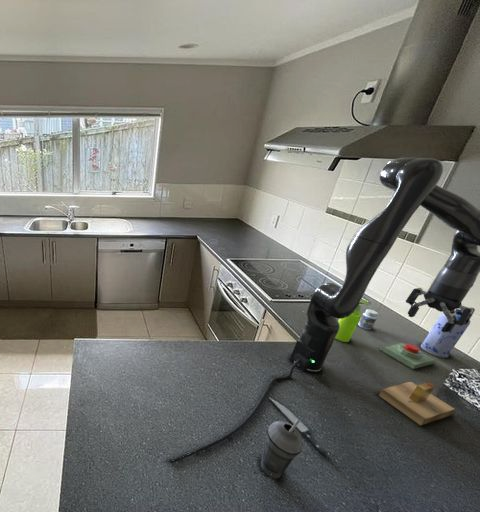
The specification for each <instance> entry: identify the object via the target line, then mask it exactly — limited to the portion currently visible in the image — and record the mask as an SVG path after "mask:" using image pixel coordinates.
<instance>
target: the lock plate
mask: <svg viewBox="0 0 480 512" xmlns="http://www.w3.org/2000/svg"><path fill="white" fill-rule="evenodd" d="M417 385H418V384H416V383H414V382H412V381H407V382H403V383H399V384H397V385H392V386H389V387H386V388H382V389H381V391H380V393H379V394H378V396H379V397H380V398H381V399H382V400H384V401H386V402H387V403H388V404H390V405H391V406H393V408H395V409H397V410H398V411H400V412H401V413H402V414H404V415H405V416H407V417H408V418H409V419H411V420H412V421H414V422H415V423H416V424H417V425H419V426H423V425H426V424H430V423H432V422H435V421H438V420H441V419H445V418H447V417H450V416H452V414H453V413H454V411H455V410H456V408H454V407H453V406H451V405H450V404H448V403H446V402H445V401H443V400H441V399H440V398H438V397H436V395H433V394H432V393H431V394H430V395H429V396H428V398H427V399H426V400H423V401H419V402H415V401H413V400H412V399H410V398H409V397H410V396H411V394H412V393H413V391H414V390H415V388H416V387H417Z"/></svg>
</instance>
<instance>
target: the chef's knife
mask: <svg viewBox="0 0 480 512" xmlns="http://www.w3.org/2000/svg"><path fill="white" fill-rule="evenodd" d="M269 400H270V401H271V402H272V403H273V404H274V405H275V406H276V407H277V408H278V410H279V411H280V412H281V413H282V414H283V415H284V416H285V417H286V418H287V419H288V420H289V421H290V422H291V424H292V425H294V423H295V422H296V421H297V419H298V417H297V416H296V415H295V414H294V413H293V412H291V411H290V410H289V409H288V408H287V407H285V405H282V404H281V403H280V402H278V401H277V400H275V399H273V398H271V397H269ZM295 428H296V429H297V430H298V431H299V433H300V434H301V435H303V436H304V437H305V438H306V439H307V440H308V441H309V442H310V443H311V445H313V447H314V448H316V450H317V451H318V452H319V453H320V454H321V455H322V456H323V457H327V452H326V451H325V450H324V449H323V448H322V447H320V446H319V444H318V443H316V441H315V440H314V439H313V438H312V437H311V436H310V435H309V434H308V431H309V428H308V427H307V426H306V425H305V424H304V423H302V421H301V420H300V422H299V423H298V424H297V426H296V427H295Z"/></svg>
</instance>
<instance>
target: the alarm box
mask: <svg viewBox="0 0 480 512" xmlns="http://www.w3.org/2000/svg"><path fill="white" fill-rule="evenodd" d="M406 344H407V343H406ZM406 344H405V343H404V342H402V343H401V342H400V343H396V344H392V345H387V346H384V347H383V349H382V352H383V353H385V354H386V355H388V356H390V357H392V358H394V359H395V360H397V361H398V362H400V363H402V364H404V365H405V366H407V367H409V368H410V369H412V370H416V369H419V368H423V367H427V366H430V365H433V363H434V362H435V359H434V358H432V357H430V356H428V355H427V354H424V353H423V352H422V351H421V350H420V349H419V351H418V353H412V352H409V351H407V350H406V349H405V346H406Z"/></svg>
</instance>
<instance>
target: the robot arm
mask: <svg viewBox="0 0 480 512" xmlns="http://www.w3.org/2000/svg"><path fill="white" fill-rule="evenodd" d="M443 173H444V165H443V163H442V161H440V160H439V159H436V158H430V157H429V158H428V157H414V156H413V157H410V156H405V157H398V158H395V159H394V158H393V159H392V160H390V161H387V163H385V164H384V165H383V166H382V168H381V170H380V173H379V181H380V183H381V184H382V185H383V186H384V187H385V188H387V189H389V190H392V191H394V194H393V196H392V197H391V198H390V200H389V202H388V203H387V205H386V206H385V207H384V208H383V209H382V210H380V211H379V212H378V213H377V214H375V215H374V216H372V217H371V218H369V219H368V220H367V221H365V222H364V223H363V224H362V225H360V226H359V227H358V229H357V230H356V231H355V233H354V234H353V235H352V238H351V239H350V241H349V243H348V244H347V246H346V251H345V267H346V268H345V269H346V270H345V271H346V272H345V277H344V281H343V283H342V284H341V286H340V285H338V284H336V283H333V282H325V283H321V284H320V285H319V286H317V288H315V289H314V291H313V293H312V295H311V298H310V300H309V304H308V307H307V310H306V320H305V323H304V326H303V328H302V330H301V332H300V335H299V337H298V340H296V342H295V344H294V347H293V350H292V352H291V355H290V357H289V360H290V361H291V362H292V365H291V367H290V370H289V372H288V374H286V375H284V376H275V377H273V378H271V379H270V381H269V382H268V384H267V385H266V388H265V390H264V392H263V393H262V395H261V397H260V398H259V400H258V401H257V403H256V405H255V406H254V408H253V409H252V410H251V412H250V413H249V414H248V415H247V417H246V418H245V419H243V421H242V422H240V424H238V425H237V426H236V427H234V428H233V429H232V430H230V431H229V432H226V433H225V434H224V435H222V436H220V437H218V438H216V439H214V440H213V441H211V442H208V443H206V444H204V445H201V446H199V447H197V448H194V449H192V450H190V451H187V452H185V453H183V454H179V455H177V456H174V457H172V458H170V459H169V462H170V463H171V464H175V463H177V462H179V461H181V460H184V459H186V458H188V457H191V456H193V455H195V454H198V453H201V452H202V451H205V450H207V449H210V448H211V447H214V446H216V445H217V444H220V443H222V442H223V441H225V440H227V439H229V438H230V437H232V436H233V435H234V434H236V433H237V432H239V431H240V430H241V429H242V428H244V427H245V425H247V423H248V422H250V420H251V419H252V418H253V417H254V415H255V414H256V413H257V411H258V409H259V408H260V406H261V405H262V403H263V402H264V400H265V398H266V396H267V394H269V391H270V389H271V387H272V385H273V384H274V382H276V381H280V380H287V379H289V378H291V376H292V375H293V373H294V370H295V368H296V366H297V367H298V368H299V369H300V370H301V371H303V372H309V373H319V372H321V371H322V367H323V365H324V363H325V361H326V358H327V357H328V355H329V352H330V350H331V348H332V346H333V343H334V341H335V339H336V338H335V337H336V335H337V333H338V331H339V328H340V325H339V322H338V320H339V319H342V318H346V317H348V316H350V315H351V314H352V313H353V312H354V311H355V310H356V308H357V307H358V305H359V306H360V304H361V302H360V301H361V299H363V297H364V295H365V292H366V291H367V288H368V287H369V284H370V283H371V281H372V279H373V277H374V276H375V274H376V272H377V270H378V269H379V267H380V266H381V264H382V262H383V261H384V259H385V258H386V257H387V255H388V254H389V252H390V251H391V249H392V247H394V244H395V243H396V241H397V239H398V237H399V236H400V234H401V232H403V229H404V228H405V227H406V225H407V224H408V222H409V221H410V219H411V218H412V217H413V215H414V214H415V213H416V211H417V210H418V209H419V208H420V207H421V208H423V209H424V210H426V211H428V212H429V213H430V214H432V215H433V216H434V217H436V218H437V219H438V220H439V221H441V222H442V223H443V224H444V225H446V226H447V227H448V228H450V229H452V230H455V231H454V233H453V237H452V243H451V249H450V255H449V257H448V258H447V260H446V261H445V263H444V264H443V266H442V267H441V268H440V269H439V271H438V273H437V275H436V276H435V278H434V279H433V281H432V283H431V284H430V286H429V288H428V290H427V291H426V290H424V289H423V288H422V287H416V288H413V289H412V290H411V292H410V294H409V295H408V297H407V298H406V299H405V303H406V304H408V305H409V306H410V308H409V310H408V311H407V315H408V317H410V318H414V317H416V314H417V313H418V312H419V310H420V307H422V306H427V307H428V308H431V309H435V310H436V311H438V312H440V313H443V312H444V315H445V316H446V317H447V320H448V322H446V324H445V325H444V327H443V328H442V330H441V331H442V332H449V331H451V330H452V329H453V327H454V326H455V325H456V324H457V325H460V326H462V325H466V324H468V322H469V320H470V321H471V318H472V316H473V314H475V311H476V309H475V308H474V307H468V306H465V305H462V302H463V301H464V299H465V298H466V296H467V294H468V293H469V291H470V290H471V288H473V287H474V284H475V283H476V280H477V277H478V275H479V274H480V251H479V249H478V247H480V209H479V208H478V207H477V206H475V205H474V204H473V203H472V202H471V201H469V200H467V199H466V198H464V197H463V196H461V195H459V194H457V193H455V192H453V191H450V190H449V189H446V188H443V187H442V186H439V185H438V183H439V182H440V180H441V178H442V175H443ZM422 295H423V298H424V300H421V301H418V302H416V300H417V299H418V298H419V296H422ZM359 303H360V304H359ZM456 309H460V310H461V313H462V315H461V317H460V319H459V320H458V319H457V316H456V315H457V314H456V311H455V310H456ZM194 451H196V452H194ZM188 452H190V453H191V454H189V453H188ZM187 454H189V455H187ZM183 456H184V457H183ZM180 457H181V458H180ZM172 460H174V461H172Z"/></svg>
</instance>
